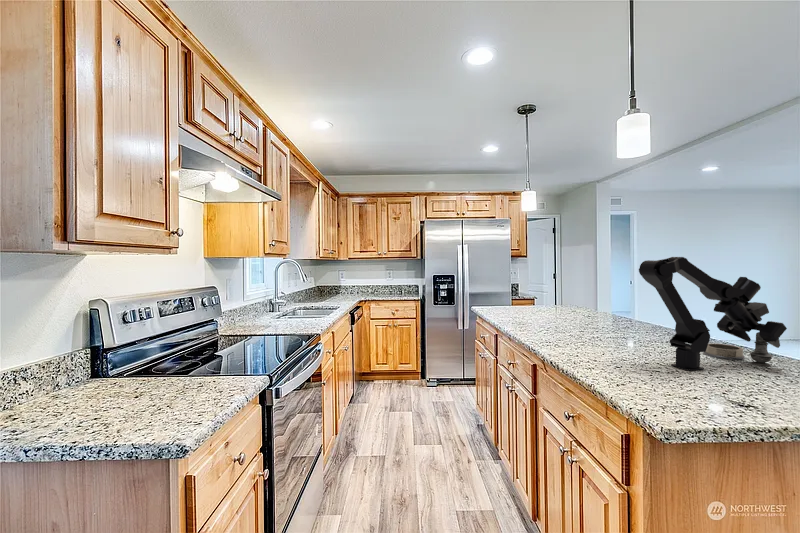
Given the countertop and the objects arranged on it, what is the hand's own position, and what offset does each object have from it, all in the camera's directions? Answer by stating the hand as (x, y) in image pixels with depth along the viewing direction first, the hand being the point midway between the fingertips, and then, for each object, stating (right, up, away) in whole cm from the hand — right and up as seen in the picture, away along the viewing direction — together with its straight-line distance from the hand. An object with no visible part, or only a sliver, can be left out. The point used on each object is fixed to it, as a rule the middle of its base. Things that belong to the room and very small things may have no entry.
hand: (763, 343), depth 132 cm
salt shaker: (-1, -7, 0) cm, 7 cm away
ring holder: (-4, -7, +12) cm, 14 cm away
